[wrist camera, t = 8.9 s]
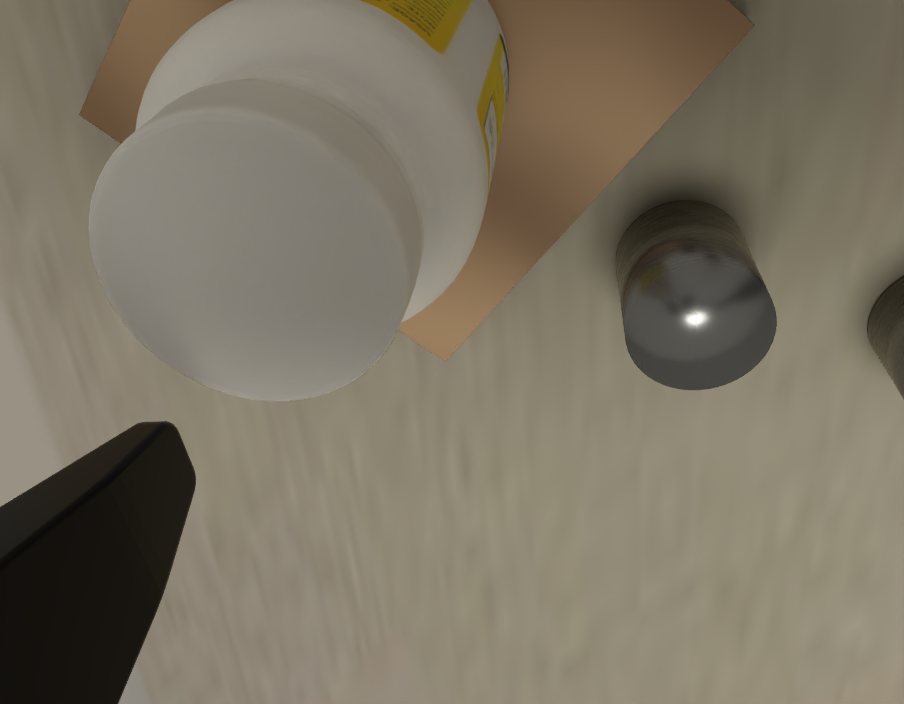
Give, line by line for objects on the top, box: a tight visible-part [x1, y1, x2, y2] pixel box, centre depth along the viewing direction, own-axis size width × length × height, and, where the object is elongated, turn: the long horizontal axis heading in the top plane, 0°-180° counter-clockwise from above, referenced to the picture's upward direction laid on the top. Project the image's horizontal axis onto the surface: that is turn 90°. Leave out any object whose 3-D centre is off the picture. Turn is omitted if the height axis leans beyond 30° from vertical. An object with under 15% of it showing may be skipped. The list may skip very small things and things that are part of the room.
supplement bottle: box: [89, 0, 509, 401], centre depth 14 cm, size 5×5×10 cm
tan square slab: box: [79, 0, 754, 362], centre depth 18 cm, size 11×11×1 cm
